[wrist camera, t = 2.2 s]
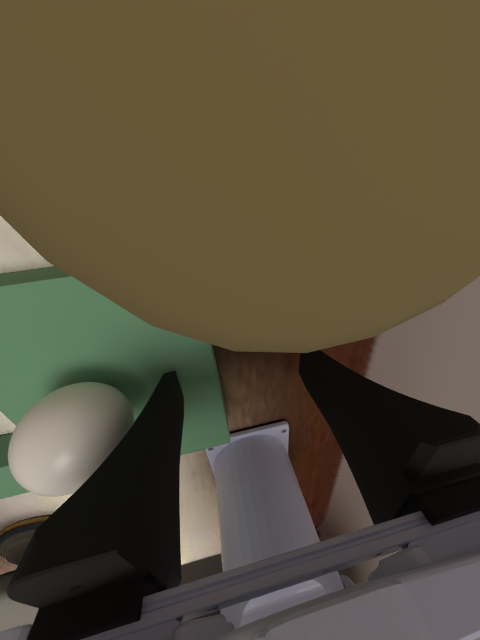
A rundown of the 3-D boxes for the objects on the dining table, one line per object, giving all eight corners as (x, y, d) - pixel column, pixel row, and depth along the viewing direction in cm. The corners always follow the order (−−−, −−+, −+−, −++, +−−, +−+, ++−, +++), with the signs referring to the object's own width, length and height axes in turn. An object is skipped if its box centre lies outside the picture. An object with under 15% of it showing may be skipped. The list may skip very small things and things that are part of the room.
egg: (153, 411, 13) (136, 499, 9) (75, 428, 13) (23, 529, 9) (126, 354, 11) (89, 441, 7) (30, 372, 10) (-68, 476, 6)
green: (226, 414, 18) (230, 442, 16) (-49, 477, 16) (-86, 519, 14) (193, 247, 11) (192, 258, 9) (-311, 316, 9) (-470, 353, 7)
